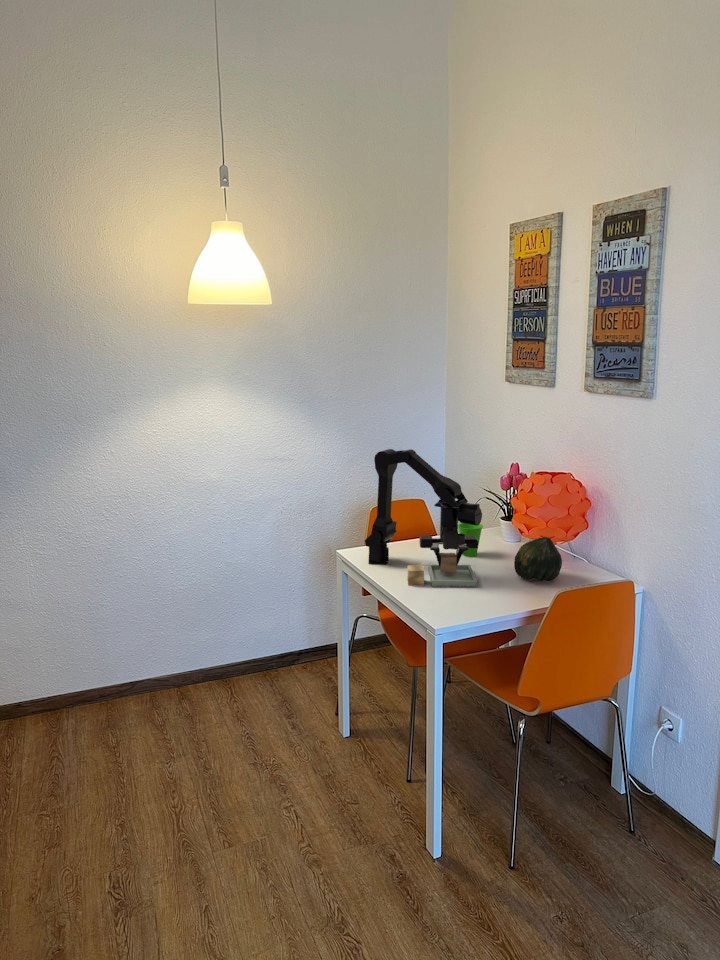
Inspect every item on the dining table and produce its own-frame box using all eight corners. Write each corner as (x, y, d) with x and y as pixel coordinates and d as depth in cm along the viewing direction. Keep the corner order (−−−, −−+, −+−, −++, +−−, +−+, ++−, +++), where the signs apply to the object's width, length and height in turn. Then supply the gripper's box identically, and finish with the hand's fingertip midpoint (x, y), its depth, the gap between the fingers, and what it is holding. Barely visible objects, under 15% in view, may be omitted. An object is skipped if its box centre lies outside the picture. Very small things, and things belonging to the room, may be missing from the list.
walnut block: (439, 567, 232) (439, 552, 231) (454, 567, 231) (454, 552, 230) (440, 572, 227) (441, 557, 226) (456, 572, 227) (456, 557, 226)
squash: (501, 556, 232) (522, 531, 221) (537, 552, 238) (559, 528, 227) (518, 593, 224) (541, 570, 213) (555, 588, 230) (579, 565, 219)
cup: (481, 551, 255) (482, 522, 253) (482, 559, 246) (483, 529, 244) (456, 550, 256) (457, 521, 253) (457, 558, 247) (458, 528, 245)
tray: (432, 587, 219) (432, 581, 218) (428, 570, 235) (428, 564, 234) (476, 587, 219) (477, 581, 218) (470, 570, 234) (470, 564, 234)
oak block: (408, 585, 221) (408, 570, 219) (407, 580, 225) (407, 565, 224) (423, 585, 220) (424, 570, 219) (422, 580, 225) (423, 565, 224)
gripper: (422, 527, 218) (421, 574, 221) (481, 527, 218) (479, 575, 221) (419, 518, 229) (418, 563, 232) (476, 518, 229) (474, 563, 232)
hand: (447, 566), depth 229 cm, fingers closed on walnut block, 5 cm apart
